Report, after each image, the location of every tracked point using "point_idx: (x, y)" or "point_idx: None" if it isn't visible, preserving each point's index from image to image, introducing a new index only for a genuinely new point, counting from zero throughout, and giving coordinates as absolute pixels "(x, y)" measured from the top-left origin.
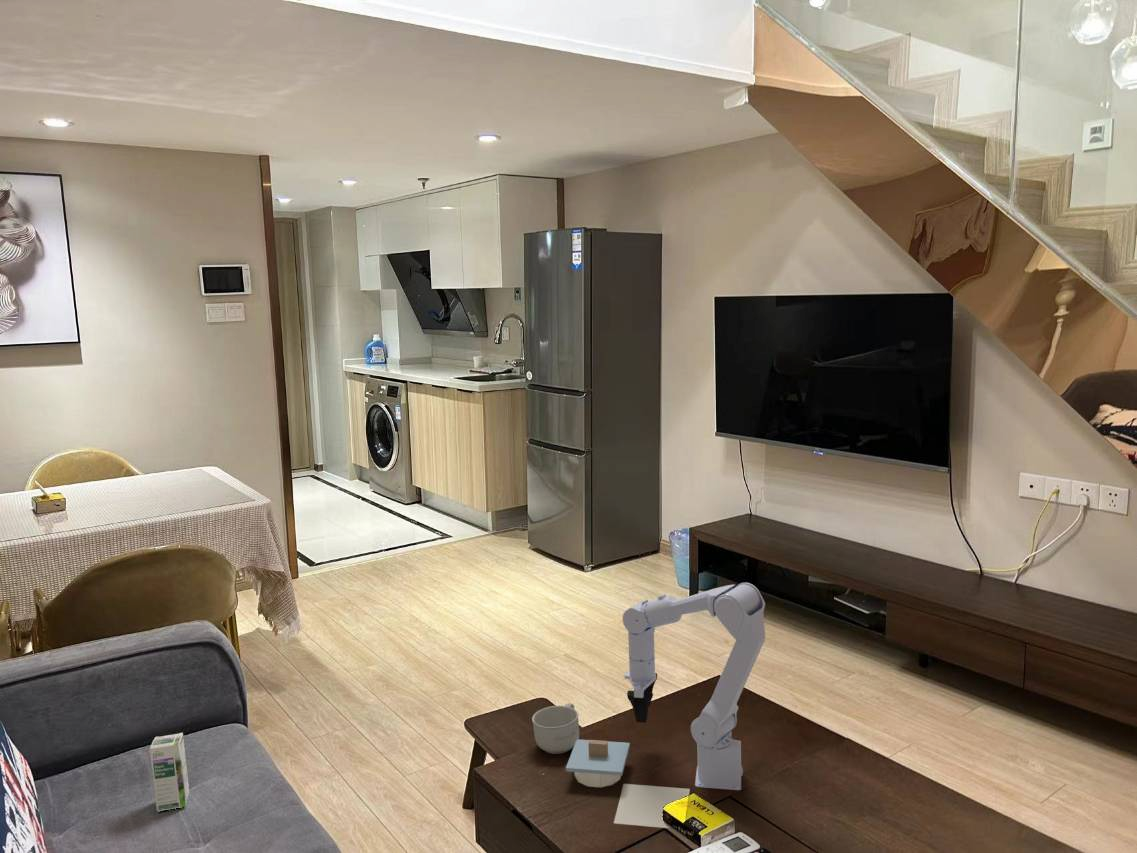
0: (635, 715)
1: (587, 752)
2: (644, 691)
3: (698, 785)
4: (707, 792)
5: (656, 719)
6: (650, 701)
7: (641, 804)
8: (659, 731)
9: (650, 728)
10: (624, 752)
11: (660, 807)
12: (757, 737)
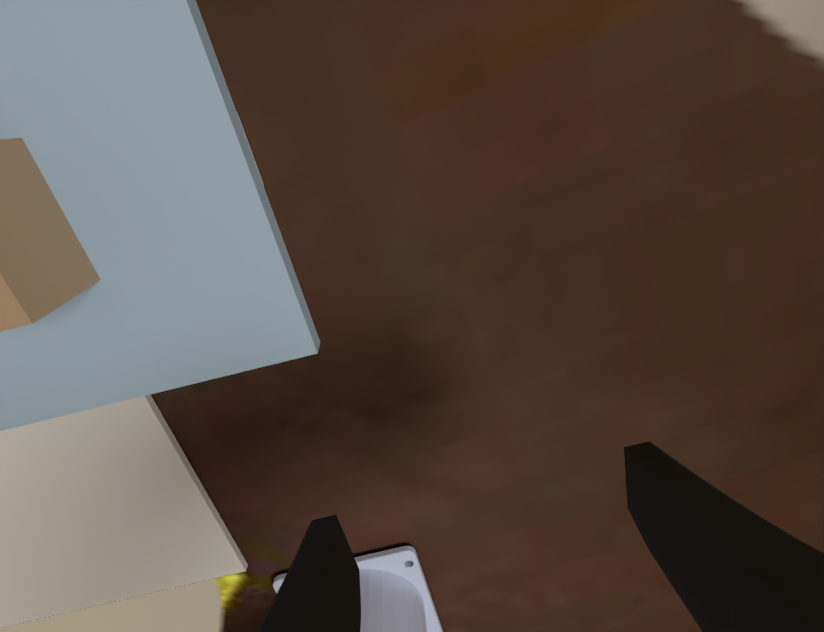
0: (285, 581)
1: (9, 112)
2: (731, 617)
3: (277, 590)
4: (270, 605)
5: (818, 257)
6: (654, 556)
7: (24, 471)
8: (685, 316)
9: (713, 263)
10: (185, 369)
11: (60, 532)
12: (684, 625)
